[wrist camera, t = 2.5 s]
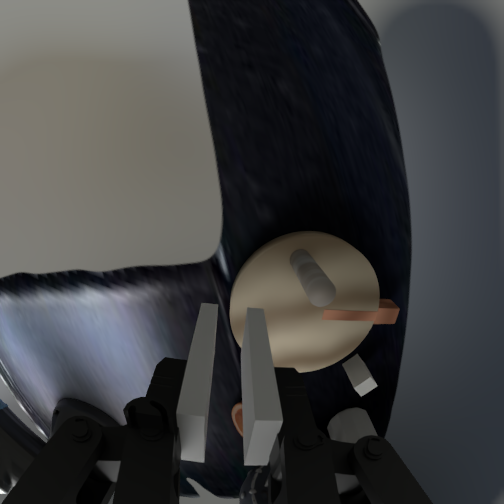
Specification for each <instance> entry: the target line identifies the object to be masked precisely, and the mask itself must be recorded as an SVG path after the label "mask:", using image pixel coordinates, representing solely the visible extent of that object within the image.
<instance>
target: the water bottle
mask: <svg viewBox="0 0 504 504" xmlns="http://www.w3.org/2000/svg"><path fill="white" fill-rule="evenodd" d="M327 429H328V432H329V435H330V438H331V439H332V440H336V441H341V442H348V443H356V442H357V441H358V439H360V438H362V437H364V436H369V435H374V436H378V435H377V433H376V431H375V429H374V427H373V425H372V422H371V420H370V418H369V416H368V414H367V412H366V410H363V409H360V408H357V407H356V408H349V409H346V410H344V411H341V412H339V413H337V414H336V415H335V416H334V417H333V418H332V419H331V420H330V422H329V425H328V427H327Z"/></svg>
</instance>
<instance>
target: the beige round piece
mask: <svg viewBox="0 0 504 504" xmlns="http://www.w3.org/2000/svg"><path fill="white" fill-rule="evenodd" d="M379 297H380V292H379V284H378V280H377V276H376V274H375V272H374V269H373V268H372V266H371V264H370V263H369V261H368V260H367V259H366V258H365V257H364V255H363V254H361V253H360V252H359V251H358V250H357V249H355V248H354V247H353V246H351V245H350V244H349V243H347V242H346V241H344V240H342V239H341V238H339V237H336V236H334V235H331V234H328V233H324V232H318V231H299V232H293V233H289V234H286V235H282V236H280V237H277V238H275V239H273V240H271V241H269V242H268V243H266V244H264V245H263V246H261V247H260V248H259V249H258V250H256V251H255V252H254V253H253V254H252V255H251V256H250V257H249V258H248V259H247V260H246V262H245V263H244V264H243V266H242V267H241V269H240V271H239V272H238V274H237V276H236V279H235V281H234V284H233V287H232V292H231V300H230V323H231V328H232V332H233V334H234V337H235V339H236V341H237V342H238V344H239V346H240V347H241V348H242V343H243V335H244V328H245V320H246V313H247V307H249V308H260V309H264V314H265V320H266V325H267V331H268V337H269V342H270V348H271V354H272V359H273V365H274V367H294V368H295V369H296V370H297V371H298V372H299V373H301V372H309V371H314V370H318V369H321V368H324V367H327V366H329V365H331V364H334V363H336V362H337V361H339V360H341V359H342V358H344V357H345V356H347V355H348V354H349V353H351V352H352V351H353V350H354V349H355V348H356V347H357V346H358V345H359V344H360V343H361V342H362V341H363V339H364V338H365V337H366V335H367V334H368V332H369V331H370V329H371V327H372V325H373V324H395V321H396V318H397V315H398V312H399V309H400V308H399V307H398V306H396V305H395V304H394V303H393V302H392V301H391V300H390V299H379Z"/></svg>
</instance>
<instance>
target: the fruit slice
mask: <svg viewBox="0 0 504 504" xmlns="http://www.w3.org/2000/svg"><path fill="white" fill-rule="evenodd" d="M232 419H233V422H234V424H235V426H236V429H237V430H238V432H239V433H240V434H241V436H242V437H243V411H242V401H241V402H239V403H237V404H236V405H235V406H234V407H233V409H232Z"/></svg>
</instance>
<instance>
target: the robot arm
mask: <svg viewBox="0 0 504 504" xmlns="http://www.w3.org/2000/svg"><path fill="white" fill-rule="evenodd" d="M217 313H218V305H217V304H208V303H202V304H201V308H200V312H199V316H198V320H197V324H196V328H195V332H194V336H193V340H192V344H191V349H190V353H189V357H188V360H181V359H174V358H167V357H165V358H164V359H163V360H162V361H160V362H159V363H158V364H157V366H156V368H155V371H154V374H153V377H152V379H151V383H150V385H149V388H148V391H147V394H146V397H140V398H136V399H133V400H132V401H130V402H129V403H127V405H126V406H125V408H124V410H123V411H124V414H125V418H126V421H127V425H124V426H119V425H118V424H117V423H116V422H115V421H114V420H113V419H112V418H110V417H109V416H108V415H106V414H105V413H103V412H102V411H100V410H99V409H97V408H95V407H93V406H91V405H89V404H87V403H84V402H82V401H79V400H75V399H62V400H60V401H59V402H58V404H57V405H56V407H55V409H54V411H53V417H52V424H51V432H50V437H49V440H48V442H47V443H45V442H44V441H43V440H42V439H41V438H40V437H38V436H37V435H36V434H35V433H34V432H33V431H31V430H30V428H28V427H27V426H26V425H25V424H24V423H23V422H22V421H21V420H20V419H19V418H18V417H17V416H16V415H15V414H14V413H13V412H12V411H11V410H10V409H9V408H8V405H7V404H5V403H4V402H3V401H2V400H1V399H0V494H7V493H8V491H9V489H10V488H11V486H12V487H13V489H12V490H11V491H10V493H9V494H8V495H7V497H6V498H5V500H4V501H3V502H2V504H108V502H109V500H110V499H111V496H112V495H113V493H114V491H115V493H114V499H113V504H179V492H180V468H179V465H180V458H181V460H188V461H196V462H204V458H205V445H206V434H207V422H208V412H209V401H210V391H211V381H212V372H213V362H214V353H215V340H216V326H217ZM241 376H242V411H243V442H244V465H267V464H268V461H269V460H270V469H271V470H270V473H269V475H268V477H267V480H266V482H265V487H268V504H433V503H432V502H431V500H430V499H429V498H428V496H427V495H426V493H425V492H424V490H423V489H422V488H421V486H420V485H419V483H418V482H417V481H416V479H415V478H414V476H413V475H412V474H411V472H410V471H409V469H408V468H407V467H406V465H405V464H404V462H403V461H402V460H401V458H400V457H399V455H398V454H397V453H396V451H395V450H394V449H393V447H392V446H391V444H390V443H389V442H388V441H387V440H386V439H384V438H382V437H380V436H374V435H369V436H364V437H362V438H360V439H358V441H357V442H356V443H348V442H341V441H336V440H332V439H330V438H328V437H326V435H325V434H324V433H323V432H322V431H321V430H319V429H318V428H317V426H316V424H315V420H314V417H313V413H312V410H311V406H310V403H309V399H308V396H307V392H306V389H305V385H304V382H303V378H302V376H301V375H300V374H299V372H298V371H297V370H296V369H295V368H294V367H274V365H273V359H272V354H271V348H270V342H269V337H268V331H267V325H266V320H265V314H264V309H260V308H249V307H247V313H246V320H245V328H244V335H243V343H242V350H241Z"/></svg>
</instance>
